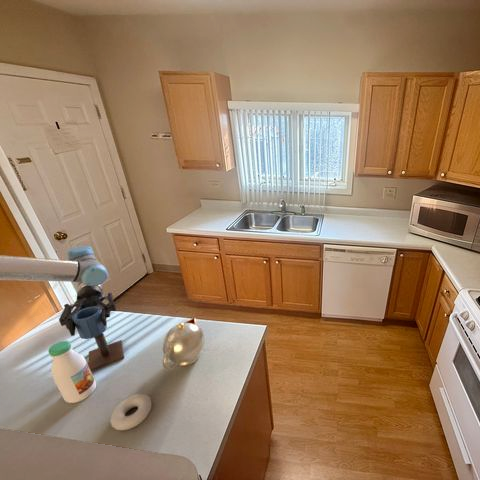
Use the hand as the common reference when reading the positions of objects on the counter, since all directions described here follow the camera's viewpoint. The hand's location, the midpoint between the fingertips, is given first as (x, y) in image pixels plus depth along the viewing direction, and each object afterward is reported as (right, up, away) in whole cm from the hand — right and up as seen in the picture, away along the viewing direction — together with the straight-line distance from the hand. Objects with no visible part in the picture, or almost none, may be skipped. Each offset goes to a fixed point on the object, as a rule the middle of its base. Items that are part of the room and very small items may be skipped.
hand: (88, 327), depth 84 cm
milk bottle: (-1, -21, -2) cm, 21 cm away
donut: (+20, -24, -7) cm, 32 cm away
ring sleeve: (-3, -3, +6) cm, 7 cm away
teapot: (+26, -17, +11) cm, 33 cm away
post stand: (-3, -15, +11) cm, 19 cm away
